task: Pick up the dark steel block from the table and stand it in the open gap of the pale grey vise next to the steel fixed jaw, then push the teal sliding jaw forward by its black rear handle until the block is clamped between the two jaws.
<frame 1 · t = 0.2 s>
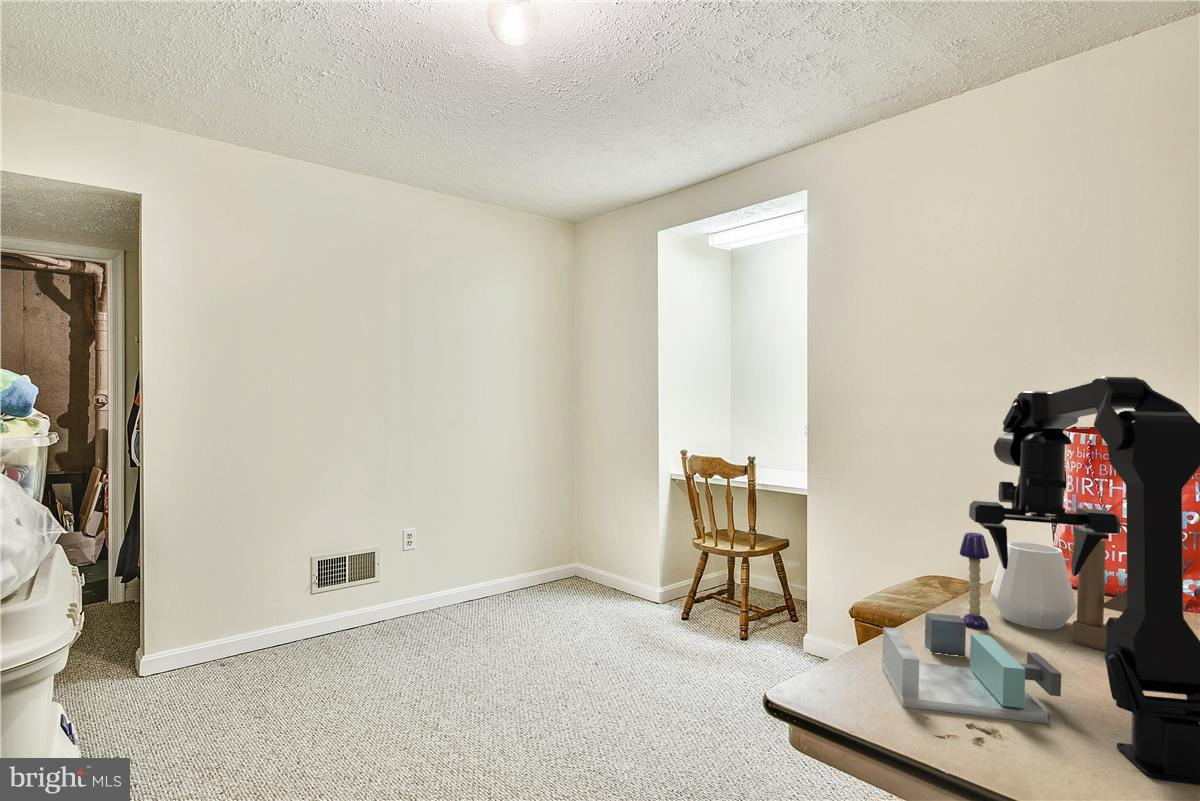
hand: (1038, 571, 100), 14 cm above the table, fingers open, 9 cm apart
toy lamp: (972, 626, 117), on the table
white faceted vase: (1031, 621, 120), on the table
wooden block: (1113, 652, 106), on the table
vise: (956, 692, 89), on the table
steel block: (944, 651, 104), on the table
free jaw: (1016, 670, 88), point 4 cm above the table, slide at 0.0 cm
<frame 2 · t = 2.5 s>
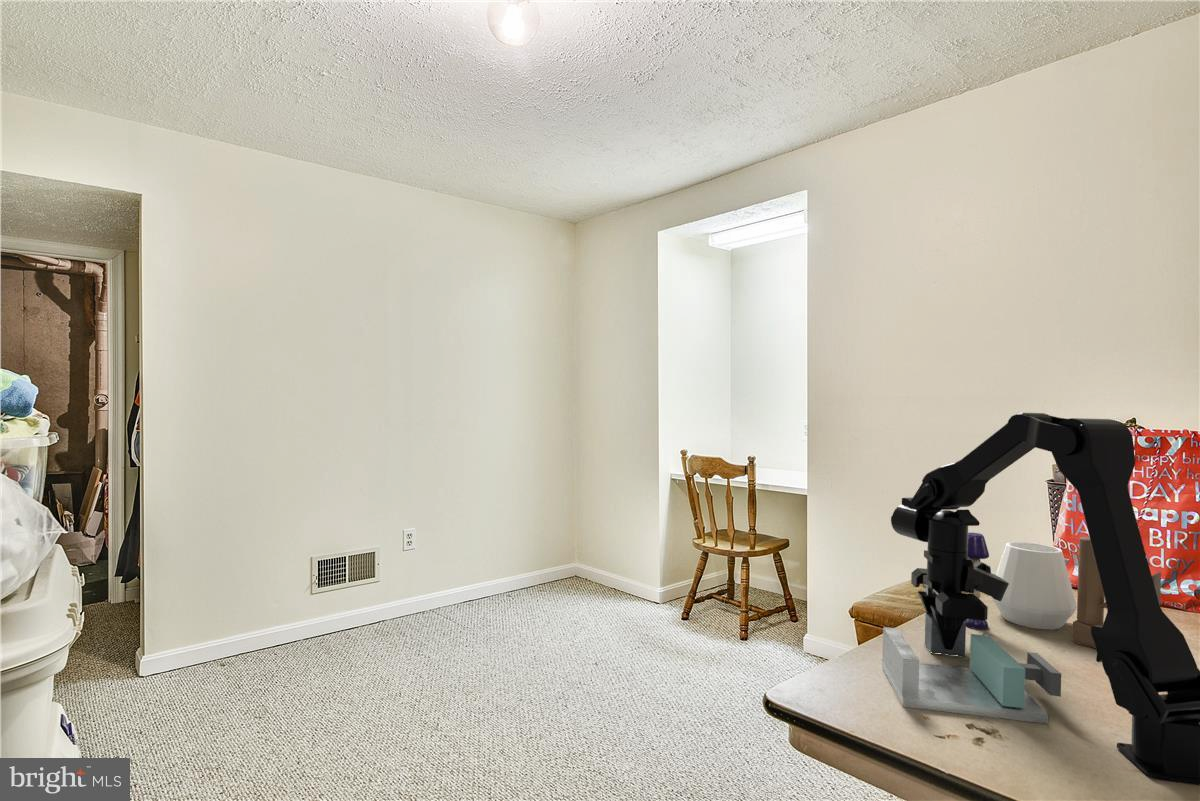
hand: (944, 644, 104), 1 cm above the table, fingers closed on steel block, 3 cm apart
steel block: (944, 651, 104), on the table, touching gripper
everything else where it was.
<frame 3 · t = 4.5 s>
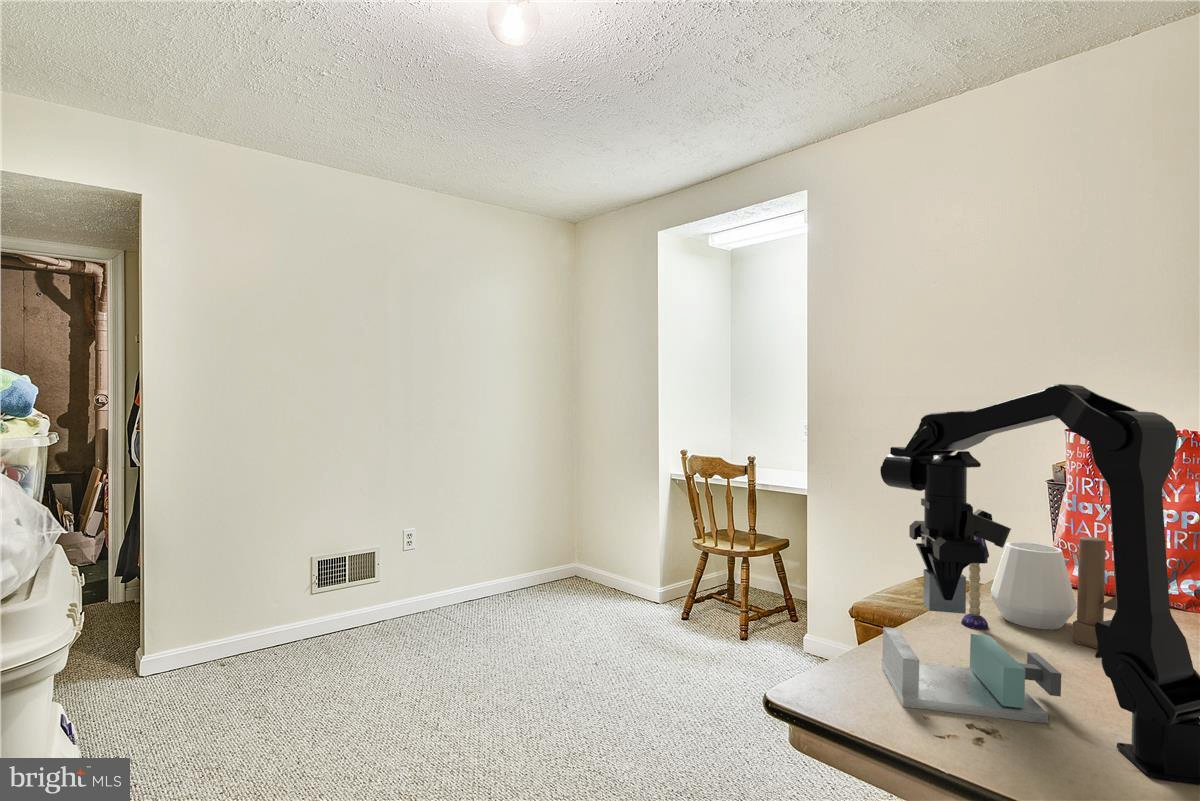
hand: (944, 596, 99), 10 cm above the table, fingers closed on steel block, 3 cm apart
steel block: (943, 608, 99), point 9 cm above the table, touching gripper
everything else where it was.
when the fingers open (4 cm above the table, at t = 6.8 s): steel block stays where it is, resting on vise.
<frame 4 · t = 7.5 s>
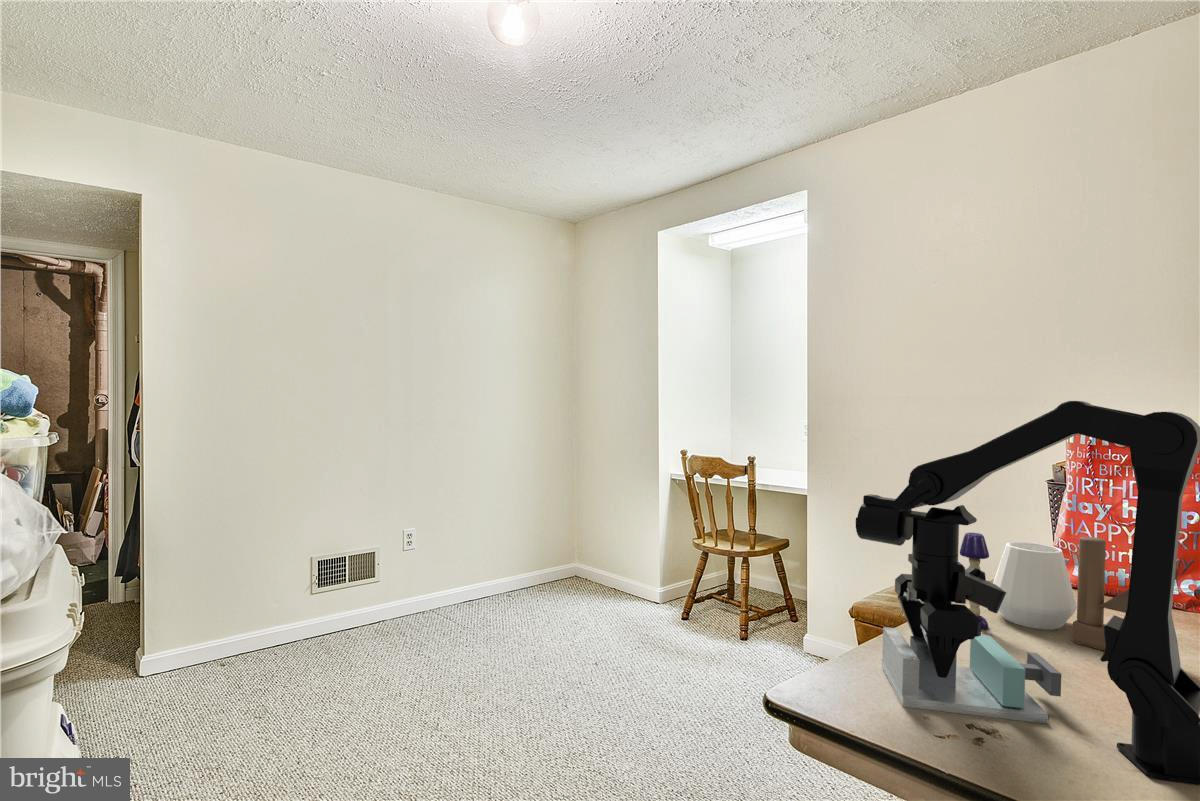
hand: (931, 663, 90), 4 cm above the table, fingers open, 9 cm apart
steel block: (931, 681, 90), point 1 cm above the table, touching vise
everything else where it was.
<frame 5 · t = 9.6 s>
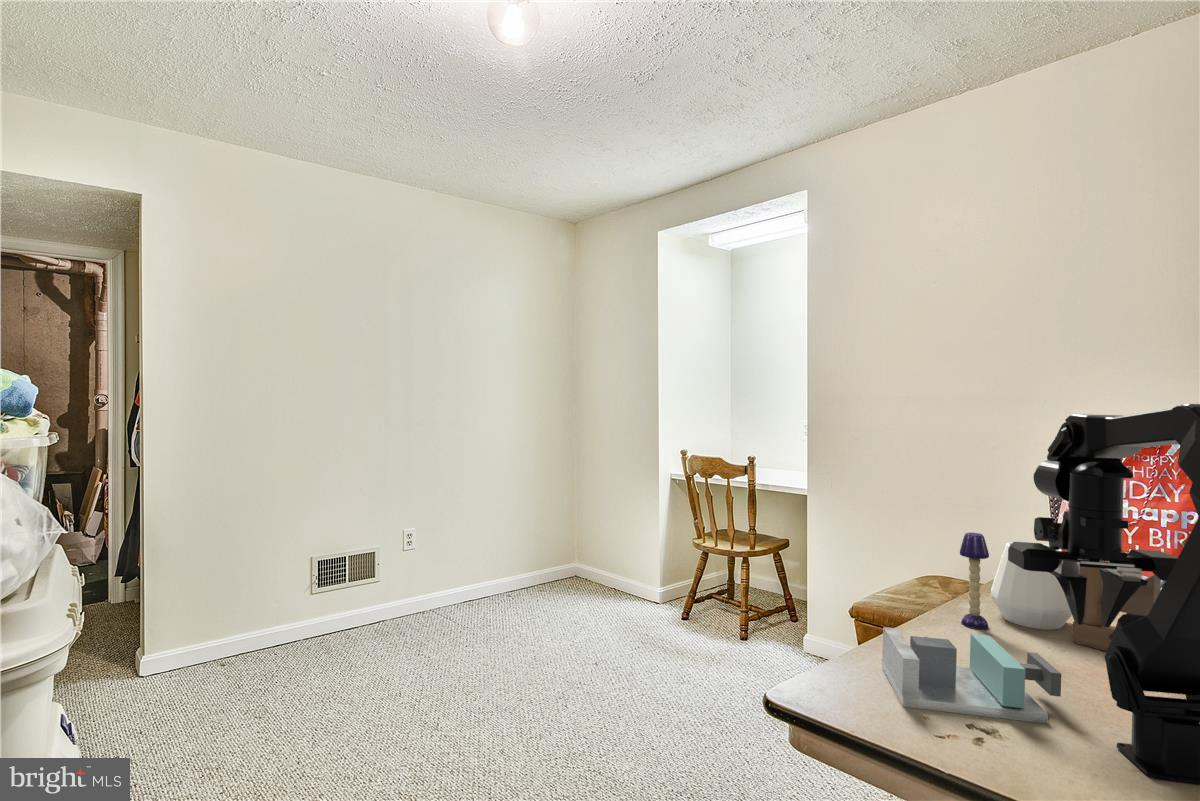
hand: (1091, 625, 86), 11 cm above the table, fingers open, 3 cm apart
nothing on the table moved.
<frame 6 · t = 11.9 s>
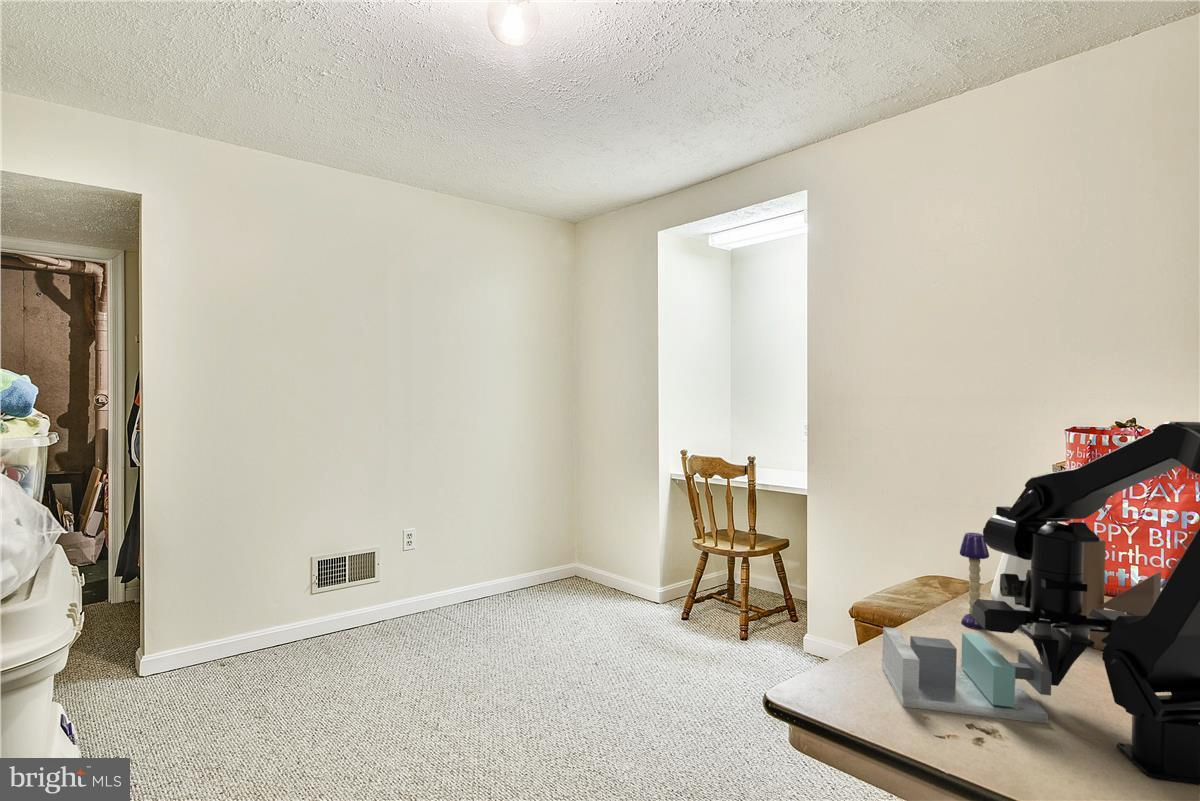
hand: (1053, 684, 87), 3 cm above the table, fingers closed
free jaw: (1007, 669, 88), point 4 cm above the table, slide at 1.1 cm, touching gripper
everything else where it was.
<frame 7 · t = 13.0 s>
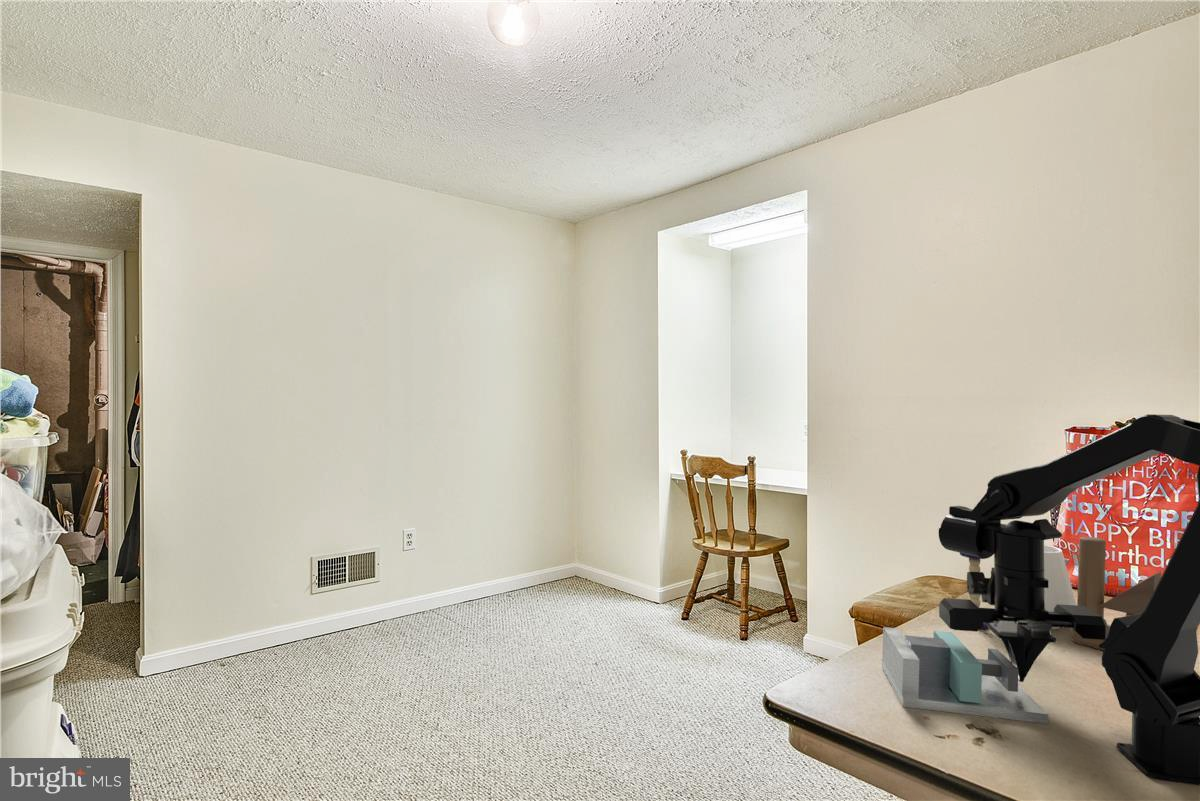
hand: (1019, 680, 88), 3 cm above the table, fingers closed
steel block: (926, 680, 90), point 1 cm above the table, touching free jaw, vise
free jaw: (976, 666, 89), point 4 cm above the table, slide at 5.0 cm, touching gripper, steel block
everything else where it was.
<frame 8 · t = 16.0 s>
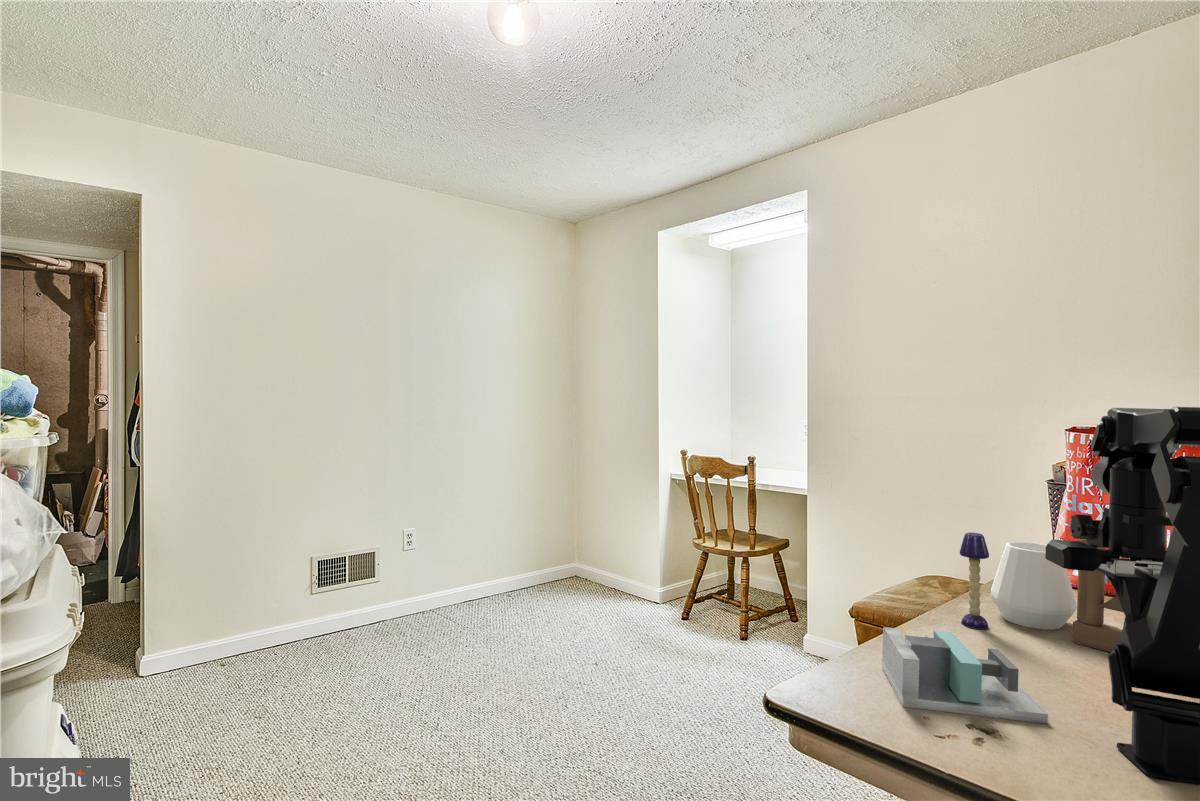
hand: (1133, 625, 83), 12 cm above the table, fingers closed
steel block: (926, 680, 90), point 1 cm above the table, touching vise
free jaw: (976, 666, 89), point 4 cm above the table, slide at 5.0 cm
everything else where it was.
at the end: steel block 0.3 cm from the target spot on the vise, point 1.2 cm above the vise's base; steel block tilted 0°; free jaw slide at 5.0 cm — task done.
